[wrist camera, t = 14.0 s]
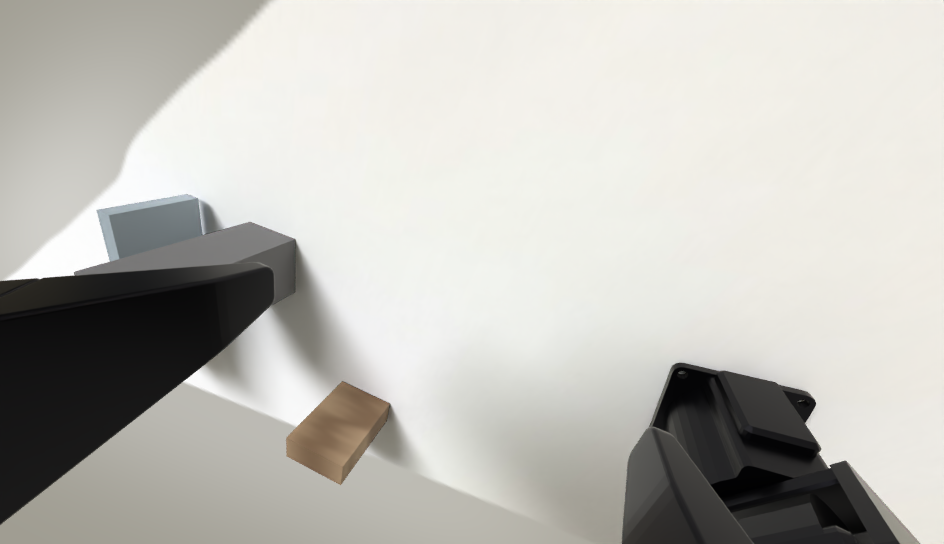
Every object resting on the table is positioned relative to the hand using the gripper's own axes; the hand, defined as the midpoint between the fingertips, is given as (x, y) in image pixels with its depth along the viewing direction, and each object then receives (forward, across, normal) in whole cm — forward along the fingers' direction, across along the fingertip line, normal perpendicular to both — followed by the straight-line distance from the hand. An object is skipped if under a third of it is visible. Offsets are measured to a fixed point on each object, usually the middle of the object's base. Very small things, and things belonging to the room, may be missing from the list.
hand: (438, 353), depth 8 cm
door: (+13, +25, +13) cm, 31 cm away
